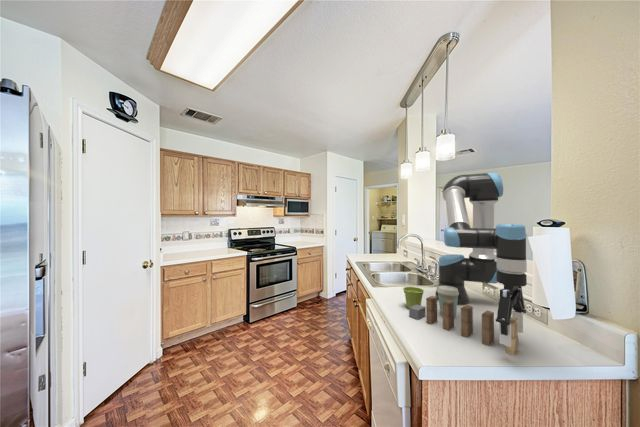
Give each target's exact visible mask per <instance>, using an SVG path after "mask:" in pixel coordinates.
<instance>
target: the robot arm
mask: <svg viewBox="0 0 640 427" xmlns="http://www.w3.org/2000/svg"><path fill="white" fill-rule="evenodd" d="M503 183H504V182H503V179H502V178H501V176H500V174H498V173H497V172H485V173H483V172H481V173H472V174H459V175H457V176H454V177H453V178H451V179H450V180H448V182H446V184H445V185H444V187H443V188H442V198H443V200H444V201H445V207H446V215H447V223H448V224H447V225H448V227H445V228H444V231H443V232H444V233H443V240H444V242H443V243H444V245H445V247H450V248H457V249H458V248H459V249H460V248H464V249H465V248H466V249H470V248H471V249H472V252H470V253H469V254H468V257H465V255H464V254H457V253H454V254H444V255H440V257H439V258H438V285H437V288H436V290H435V297H437V301H439V298H438V292H437V289H438V287H439V286H451V287H455V288H457V289H458V292H459V295H458V302H457V306H458V305H459V306H460V305H461V306H463V305H468V304H469V301H470V300H469V296H468V292H467V290H466V287H465V282H474V283H483V284H494V285H495V284H497V283H499V284H502V285H503V288H500V289H499V300H498V307H497V314H496V318H495V322H496V323H498V329H499V330H498V331H499V332H498V333H499V334H498V335H499V338H498V339H499V344H501V345H504V346H505V347H506V346H509V347H511V324H510V319H511V317H513V318H517V319H518V333H520V334H523V333H524V314H527V309H526V307H525V300H524V295H523V287H526V286H527V284H528V282H527V279H528V278H527V274H526V272H527V271H528V269H527V265H528V264H527V237H528V236H527V235H528V234H527V233H526V226H525V225H524V224H522V223H497V224H496V226H495V204H497V202H499V198H502V197H503V195H504V185H503ZM465 199H468V200H469V203H470V204H471V205H472V227H471V223H470V220H469V215H468V211H467V206H466V202H465ZM494 250H495V253H496V254H495V253H494Z"/></svg>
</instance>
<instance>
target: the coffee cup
mask: <svg viewBox="0 0 640 427" xmlns="http://www.w3.org/2000/svg"><path fill="white" fill-rule="evenodd" d="M437 287H438V286H437ZM436 290H437V292H438V298H439V300H438V304H439V312H440V316H442V317H443V302H445V301H448V300H450V301H454V319H455V318H456V317H457V309H458V308H457V307H458V305H457V302H458V295H459V292H458V289H457V288H455V287H451V286H439V287H438V289H437V288H436Z"/></svg>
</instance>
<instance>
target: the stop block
mask: <svg viewBox="0 0 640 427" xmlns="http://www.w3.org/2000/svg"><path fill="white" fill-rule="evenodd" d="M408 311H409V312H408V314H409V315H408V317H409V318H412V319H414V320H416V319H417V321H419V320H421V319H423V318H425V317H426V306H423V305H421V306H420V305H414V306H412V307H409V308H408Z"/></svg>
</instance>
